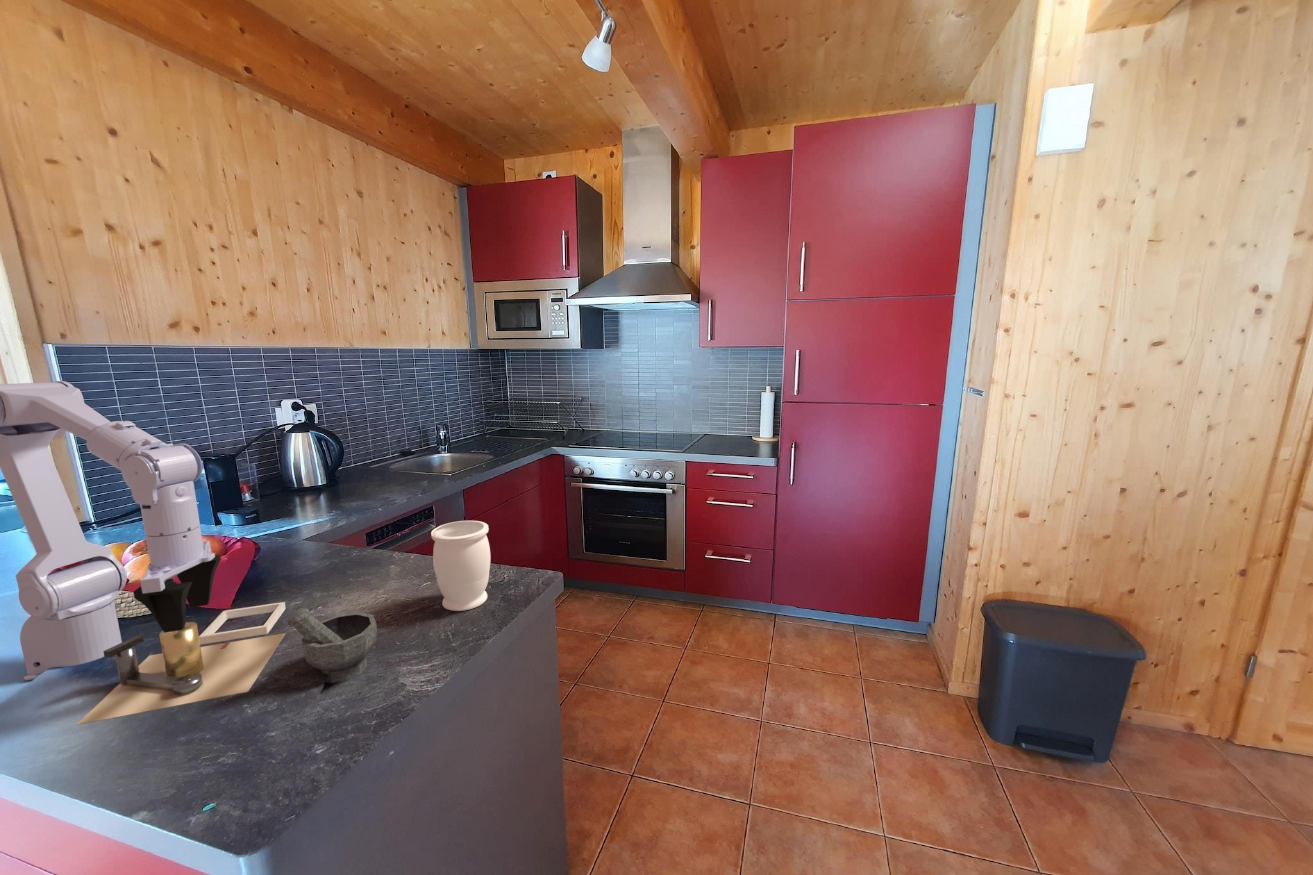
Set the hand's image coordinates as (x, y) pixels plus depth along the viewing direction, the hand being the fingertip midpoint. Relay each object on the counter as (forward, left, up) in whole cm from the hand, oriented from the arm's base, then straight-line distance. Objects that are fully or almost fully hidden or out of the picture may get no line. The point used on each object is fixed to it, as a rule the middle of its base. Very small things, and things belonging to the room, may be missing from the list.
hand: (187, 617), depth 74 cm
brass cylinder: (-1, -1, -8) cm, 8 cm away
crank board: (+1, -1, -9) cm, 10 cm away
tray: (+2, +12, -9) cm, 15 cm away
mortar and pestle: (+20, -7, -10) cm, 23 cm away
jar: (+38, +10, -10) cm, 41 cm away
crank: (-3, -4, -8) cm, 9 cm away
